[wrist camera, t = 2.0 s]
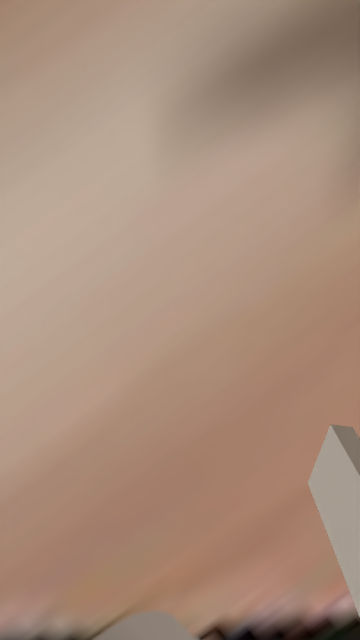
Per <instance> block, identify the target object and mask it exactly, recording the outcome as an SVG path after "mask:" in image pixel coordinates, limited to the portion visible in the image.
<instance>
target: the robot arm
mask: <svg viewBox="0 0 360 640" xmlns="http://www.w3.org/2000/svg"><path fill="white" fill-rule="evenodd" d="M308 485H309V487H310V490H311V493H312V495H313V498H314V500H315V503H316V505H317V508H318V511H319V513H320V516H321V518H322V521H323V524H324V526H325V529H326V531H327V534H328V536H329V539H330V542H331V544H332V547H333V549H334V552H335V555H336V557H337V560H338V562H339V565H340V567H341V570H342V573H343V575H344V578H345V580H346V583H347V586H348V588H349V591H350V593H351V596H352V599H353V601H354V604H355V606H356V609H357V611H358V614H359V617H360V438H359V436H358V435H357V433H356V432H355V430H354V429H353V427H347V426H339V425H330V427H329V430H328V432H327V435H326V437H325V440H324V443H323V445H322V448H321V450H320V453H319V456H318V458H317V461H316V463H315V466H314V469H313V471H312V474H311V476H310V479H309V481H308Z"/></svg>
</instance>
